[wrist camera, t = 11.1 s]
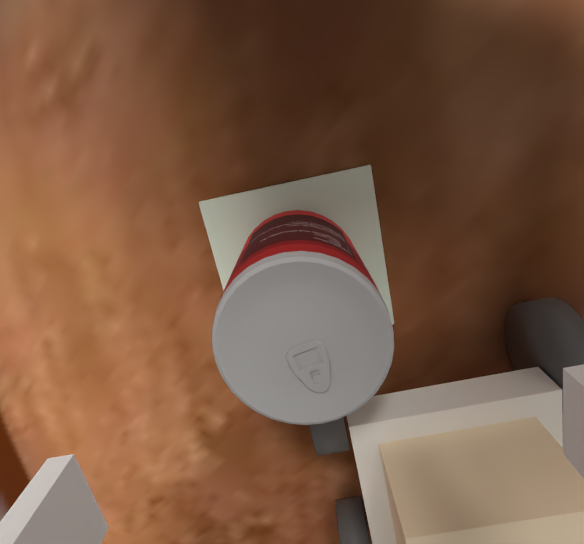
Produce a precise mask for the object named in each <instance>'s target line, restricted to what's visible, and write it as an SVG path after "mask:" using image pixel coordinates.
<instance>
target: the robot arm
mask: <svg viewBox="0 0 584 544" xmlns="http://www.w3.org/2000/svg"><path fill="white" fill-rule="evenodd" d="M563 454H564V456H565V457H566V458H567V459H568V460H569V462H570V463H571V464H572V465H573V466H574V468H575V469H576V470H577V471H578V472H579V474H580V475H581V476H582V477H583V478H584V364H583V365H577V366H572V367H566V368H563ZM108 528H109V527H108V525H107V523H106V521H105V519H104V517H103V514H102V512H101V510H100V508H99V506H98V504H97V502H96V500H95V498H94V496H93V493H92V491H91V489H90V487H89V485H88V483H87V481H86V479H85V477H84V474H83V472H82V470H81V468H80V466H79V464H78V462H77V460H76V458H75V455H74V454H71V455H65V456H60V457H54V458H48V459H47V460H46V462H45V463H44V464H43V466H42V467H41V468H40V470H39V471H38V472H37V474H36V475H35V476H34V478H33V479H32V480H31V482H30V483H29V484H28V486H27V487H26V489H25V490H24V491H23V492H22V494H21V495H20V496H19V498H18V499H17V500H16V502H15V503H14V504H13V506H12V507H11V508H10V510H9V511H8V512H7V514H6V515H5V516H4V518H3V519H2V520H1V522H0V544H101V543H102V541H103V539H104V536H105V534H106V532H107V530H108Z"/></svg>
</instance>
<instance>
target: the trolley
mask: <svg viewBox="0 0 584 544" xmlns="http://www.w3.org/2000/svg"><path fill="white" fill-rule="evenodd" d="M505 337H506V344H507V349H508V353H509V357H510V360H511V363H512V366H513V369H514V371H511V372H505V373H500V374H494V375H488V376H483V377H477V378H472V379H466V380H461V381H455V382H449V383H444V384H438V385H433V386H427V387H422V388H416V389H410V390H405V391H399V392H394V393H388V394H383V395H377V396H373V397H372V398H371V399H370V400H369V401H368V402H367V403H366V404H364V405H363V406H361V407H360V408H359V409H357V410H356V411H354V412H353V413H351V414H349V415H347V420H348V425H349V430H350V435H351V440H352V445H353V450H354V455H355V460H356V465H357V470H358V475H359V480H360V485H361V489H362V494H363V499H364V504H365V509H366V514H367V519H368V524H369V529H370V534H371V539H372V544H584V478H583V477H582V476H581V475H580V474H579V472H578V471H577V470H576V469H575V468H574V466H573V465H572V464H571V463H570V462H569V460H568V459H567V458H566V457H565V456H564V454H563V425H562V414H563V368H566V367H572V366H577V365H583V364H584V321H583V319H582V318H581V317H580V316H579V314H578V313H577V312H576V311H575V310H574V309H573V308H572V307H571V306H570V305H569V304H567V303H566V302H564V301H562V300H561V299H558V298H555V297H548V298H543V299H537V300H532V301H527V302H522V303H516V304H514V305H512V306H511V307H510V309H509V310H508V312H507V316H506V321H505ZM309 427H310V432H311V436H312V440H313V444H314V447H315V450H316V453H317V455H318V456H320V455H326V454H332V453H337V452H343V451H349V450H350V445H349V439H348V434H347V429H346V423H345V418H344V417H342V418H340V419H338V420H334V421H330V422H326V423H322V424H312V425H309ZM336 515H337V523H338V531H339V538H340V544H370V539H369V534H368V529H367V524H366V519H365V514H364V509H363V504H362V500H361V496H357V497H350V498H344V499H338V500H336Z"/></svg>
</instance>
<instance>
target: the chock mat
mask: <svg viewBox="0 0 584 544" xmlns="http://www.w3.org/2000/svg"><path fill="white" fill-rule="evenodd" d="M199 206H200V209H201V213H202V216H203V220H204V223H205V227H206V230H207V234H208V238H209V241H210V245H211V248H212V252H213V255H214V259H215V262H216V266H217V269H218V273H219V276H220V280H221V284H222V287H223V291H224V289H225V287H226V285H227V282H228V280H229V278H230V276H231V274H232V271H233V269H234V267H235V265H236V263H237V260H238V258H239V256H240V254H241V252H242V249H243V247H244V245H245V243H246V241H247V239H248V237H249V236H250V234H251V233H252V232H253V230H254V229H255V228H256V227H257V226H258V225H259V224H261V223H262V222H263V221H264V220H266V219H268V218H269V217H271V216H273V215H275V214H278V213H282V212H285V211H293V210H302V211H311V212H314V213H317V214H320V215H323V216H325V217H326V218H328V219H330V220H332V221H333V222H334V223H336V224H337V225H338V226H339V227H340V228H342V230H343V231H344V232H345V233H346V235H347V236H348V237H349V238H350V240H351V242H352V244H353V246H354V247H355V249H356V251H357V253H358V254H359V256H360V258H361V260H362V261H363V263H364V265H365V267H366V268H367V270H368V272H369V274H370V275H371V277H372V279H373V281H374V282H375V284H376V286H377V288H378V290H379V292H380V294H381V296H382V298H383V300H384V302H385V304H386V306H387V308H388V312H389V316H390V319H391V323H392V325H393V324H394V318H393V311H392V305H391V298H390V291H389V284H388V277H387V271H386V264H385V257H384V250H383V244H382V237H381V230H380V223H379V216H378V210H377V203H376V196H375V189H374V183H373V176H372V169H371V165H366V166H361V167H357V168H352V169H347V170H343V171H338V172H333V173H329V174H324V175H320V176H315V177H310V178H306V179H301V180H296V181H292V182H287V183H283V184H278V185H273V186H269V187H264V188H259V189H255V190H250V191H246V192H241V193H236V194H232V195H227V196H222V197H218V198H213V199H209V200H204V201H200V202H199Z"/></svg>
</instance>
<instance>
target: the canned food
mask: <svg viewBox="0 0 584 544" xmlns="http://www.w3.org/2000/svg"><path fill="white" fill-rule="evenodd" d="M212 348H213V352H214V357H215V362H216V365H217V367H218V369H219V372H220V374H221V376H222V378H223V380H224V381H225V383H226V384H227V385H228V387H229V388H230V390H231V391H232V392H233V393H234V394H235V395H236V396H237V397H238V398H239V399H240V400H241V401H242V402H243V403H244V404H246V405H247V406H249V407H250V408H251V409H253V410H254V411H256V412H257V413H260V414H262V415H264V416H266V417H268V418H270V419H273V420H277V421H281V422H284V423H288V424H299V425H312V424H322V423H326V422H330V421H334V420H338V419H340V418H342V417H344V416H347V415H349V414H351V413H353V412H354V411H356V410H357V409H359V408H360V407H361V406H363V405H364V404H366V403H367V402H368V401H369V400H370V399H371V398H372V397H373V396H374V395H375V393H376V392H377V391H378V390H379V388H380V387H381V385H382V383H383V382H384V380H385V379H386V377H387V374H388V371H389V369H390V366H391V364H392V358H393V352H394V332H393V327H392V323H391V319H390V316H389V312H388V308H387V306H386V304H385V302H384V300H383V298H382V296H381V294H380V292H379V290H378V288H377V286H376V284H375V282H374V281H373V279H372V277H371V275H370V274H369V272H368V270H367V268H366V267H365V265H364V263H363V261H362V260H361V258H360V256H359V254H358V253H357V251H356V249H355V247H354V246H353V244H352V242H351V240H350V238H349V237H348V236H347V235H346V233H345V232H344V231H343V230H342V228H340V227H339V226H338V225H337V224H336V223H334V222H333V221H332V220H330V219H328V218H326V217H325V216H323V215H320V214H317V213H314V212H311V211H302V210H293V211H285V212H282V213H278V214H275V215H273V216H271V217H269V218H268V219H266V220H264V221H263V222H262V223H261V224H259V225H258V226H257V227H256V228H255V229H254V230H253V232H252V233H251V234H250V236H249V237H248V239H247V241H246V243H245V245H244V247H243V249H242V252H241V254H240V256H239V258H238V260H237V263H236V265H235V267H234V269H233V271H232V274H231V276H230V278H229V280H228V282H227V285H226V287H225V289H224V291H223V293H222V296H221V298H220V301H219V304H218V306H217V309H216V314H215V318H214V322H213V329H212Z"/></svg>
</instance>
